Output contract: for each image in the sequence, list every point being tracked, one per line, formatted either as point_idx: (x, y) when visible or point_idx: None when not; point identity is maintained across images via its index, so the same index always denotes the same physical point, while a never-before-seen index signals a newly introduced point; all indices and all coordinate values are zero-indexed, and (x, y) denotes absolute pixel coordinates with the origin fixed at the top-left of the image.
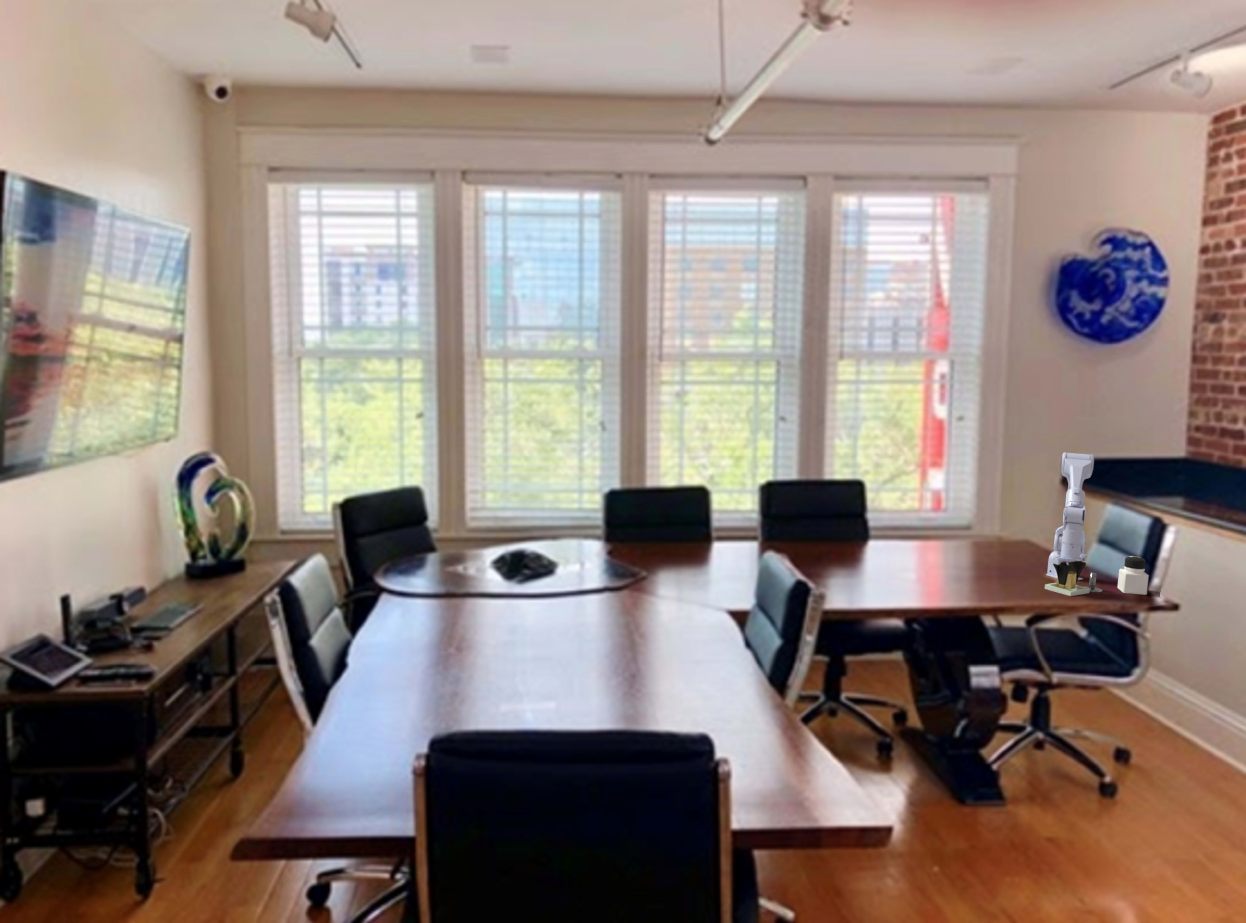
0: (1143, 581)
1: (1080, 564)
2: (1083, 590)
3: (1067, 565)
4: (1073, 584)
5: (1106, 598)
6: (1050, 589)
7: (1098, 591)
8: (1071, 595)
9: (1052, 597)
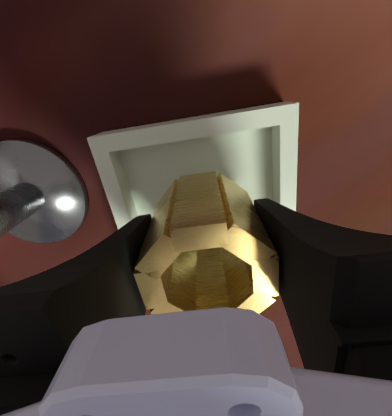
0: None
1: (68, 315)
2: (154, 126)
3: (383, 300)
4: (199, 184)
5: (36, 15)
6: None
7: (15, 144)
8: (276, 104)
9: (378, 140)
